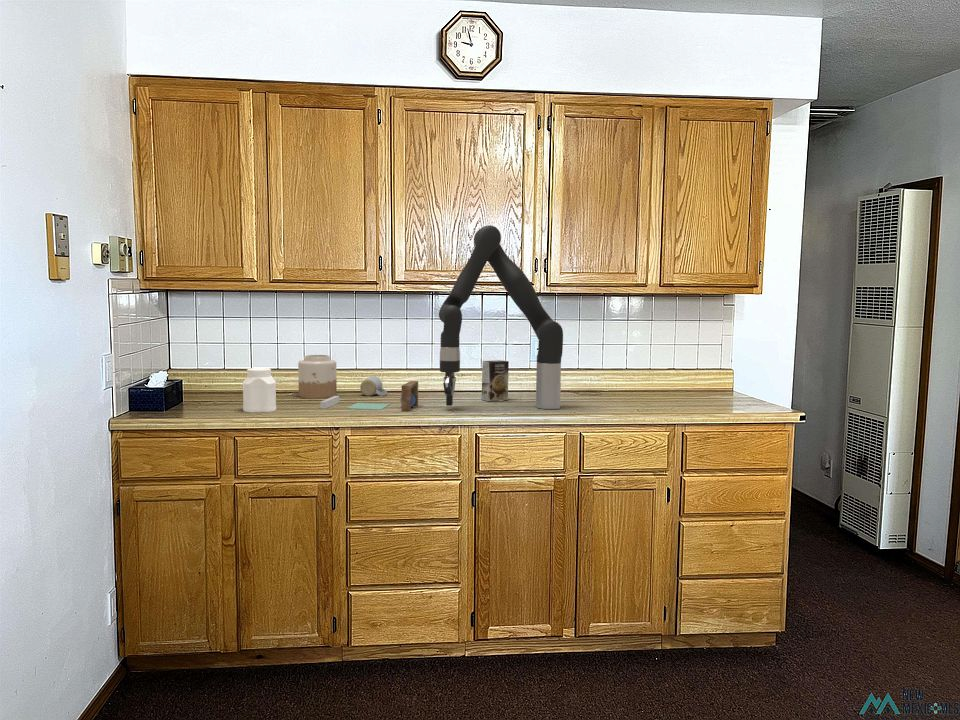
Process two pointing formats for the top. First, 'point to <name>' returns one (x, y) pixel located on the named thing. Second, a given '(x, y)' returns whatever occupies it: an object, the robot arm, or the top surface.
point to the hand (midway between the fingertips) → (449, 405)
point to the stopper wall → (329, 402)
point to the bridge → (409, 395)
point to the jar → (259, 391)
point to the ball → (412, 399)
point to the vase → (317, 377)
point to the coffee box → (495, 380)
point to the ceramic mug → (372, 387)
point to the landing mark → (368, 406)
